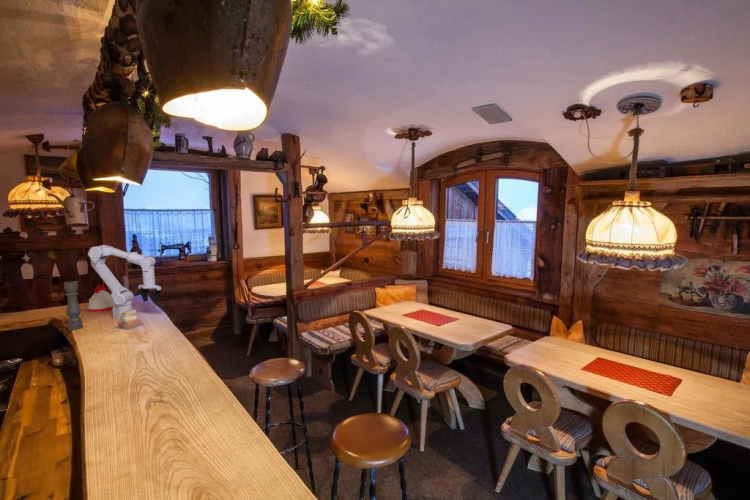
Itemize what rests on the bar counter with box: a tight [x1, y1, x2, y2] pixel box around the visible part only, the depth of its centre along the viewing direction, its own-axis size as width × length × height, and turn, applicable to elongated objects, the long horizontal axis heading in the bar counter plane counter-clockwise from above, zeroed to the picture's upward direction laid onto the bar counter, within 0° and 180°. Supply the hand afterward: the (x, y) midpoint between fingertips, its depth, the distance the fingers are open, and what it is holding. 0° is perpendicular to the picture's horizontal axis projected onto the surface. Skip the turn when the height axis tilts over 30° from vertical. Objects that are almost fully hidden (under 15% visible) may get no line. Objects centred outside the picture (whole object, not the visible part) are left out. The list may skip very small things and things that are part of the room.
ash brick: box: [119, 308, 138, 322], centre depth 196 cm, size 4×6×5 cm, turn 162°
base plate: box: [113, 322, 144, 331], centre depth 197 cm, size 10×10×2 cm
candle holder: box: [63, 280, 84, 332], centre depth 195 cm, size 6×6×25 cm
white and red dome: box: [87, 284, 115, 313], centre depth 234 cm, size 14×14×15 cm
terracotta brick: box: [117, 318, 141, 329], centre depth 196 cm, size 7×7×3 cm
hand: (150, 301), depth 213 cm, fingers open, 7 cm apart
